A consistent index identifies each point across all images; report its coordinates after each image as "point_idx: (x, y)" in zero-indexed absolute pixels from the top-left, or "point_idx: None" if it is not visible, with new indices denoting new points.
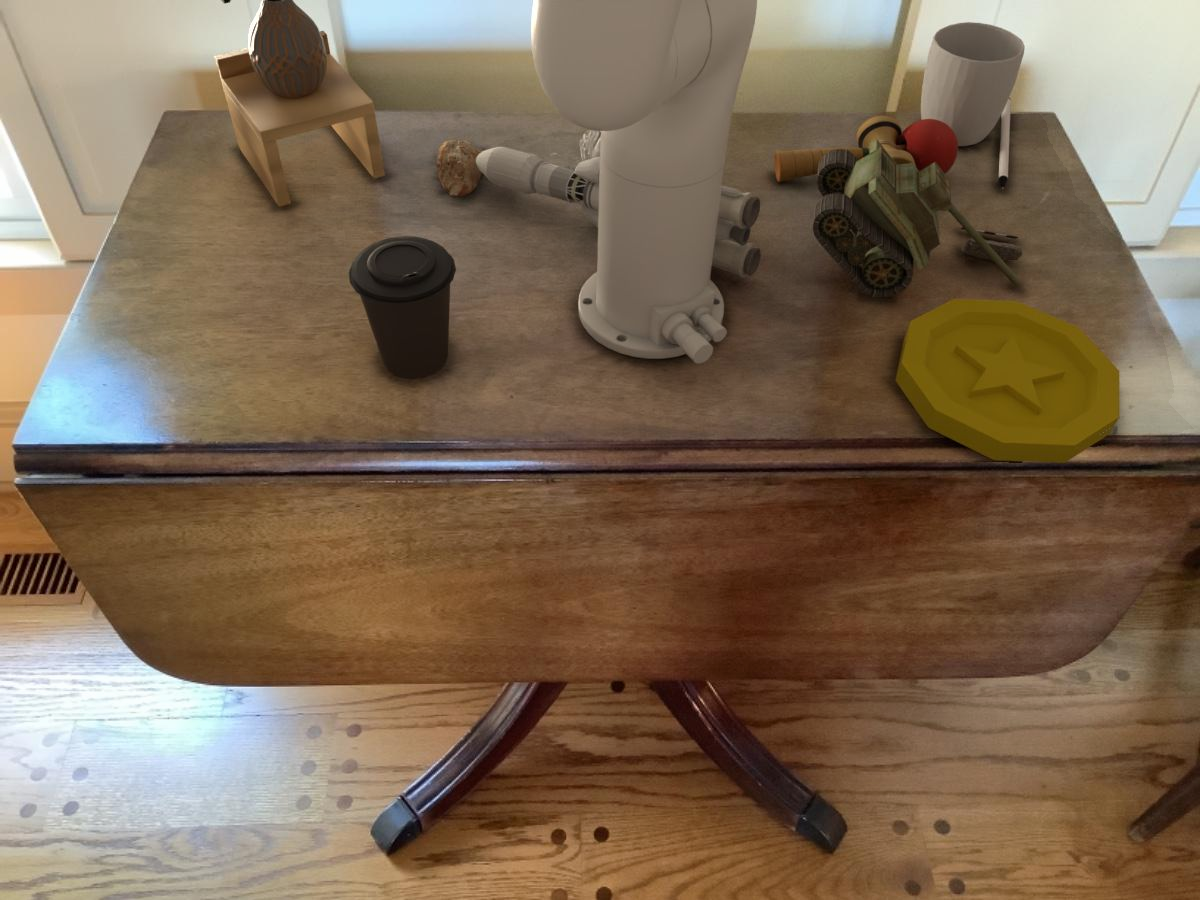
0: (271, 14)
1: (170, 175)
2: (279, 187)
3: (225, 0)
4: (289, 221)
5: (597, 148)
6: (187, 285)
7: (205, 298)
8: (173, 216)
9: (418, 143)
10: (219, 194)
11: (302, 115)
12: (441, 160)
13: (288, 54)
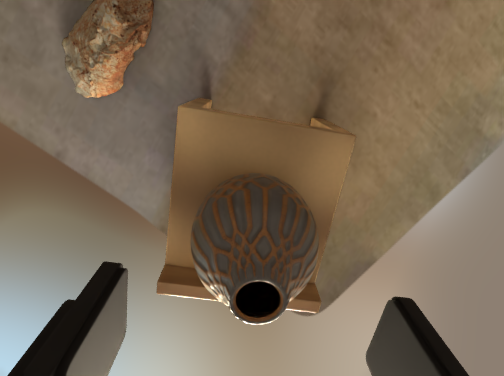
0: (286, 266)
1: (370, 238)
2: (325, 121)
3: (411, 299)
4: (331, 87)
5: None
6: (478, 49)
7: (482, 12)
8: (411, 173)
9: (130, 134)
10: (356, 180)
11: (285, 138)
12: (132, 37)
13: (282, 196)
